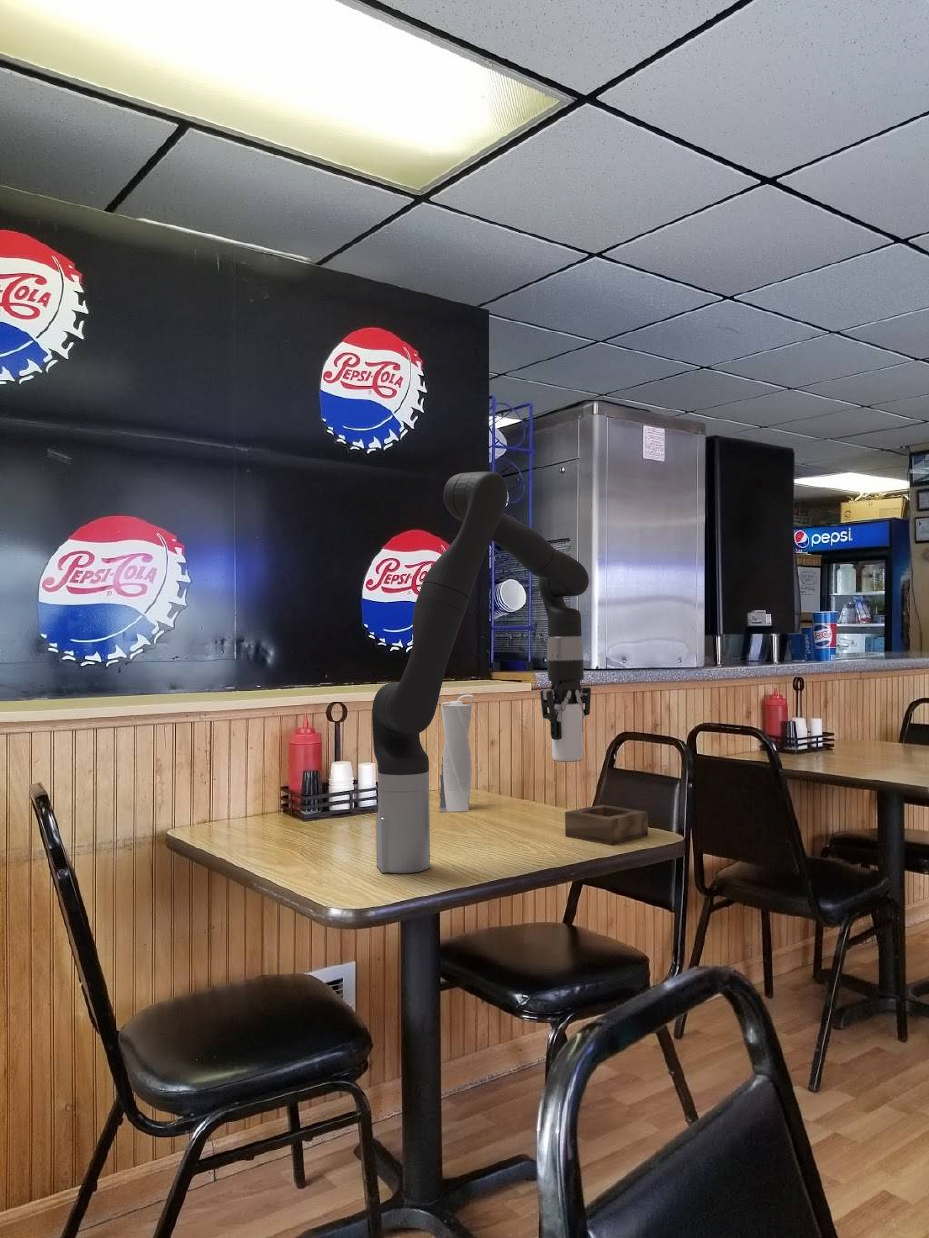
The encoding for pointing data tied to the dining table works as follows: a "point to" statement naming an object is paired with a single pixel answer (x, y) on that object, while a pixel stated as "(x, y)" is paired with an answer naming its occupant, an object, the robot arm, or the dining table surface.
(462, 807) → the grey water bottle
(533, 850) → the dining table surface
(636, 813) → the box
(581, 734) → the can
